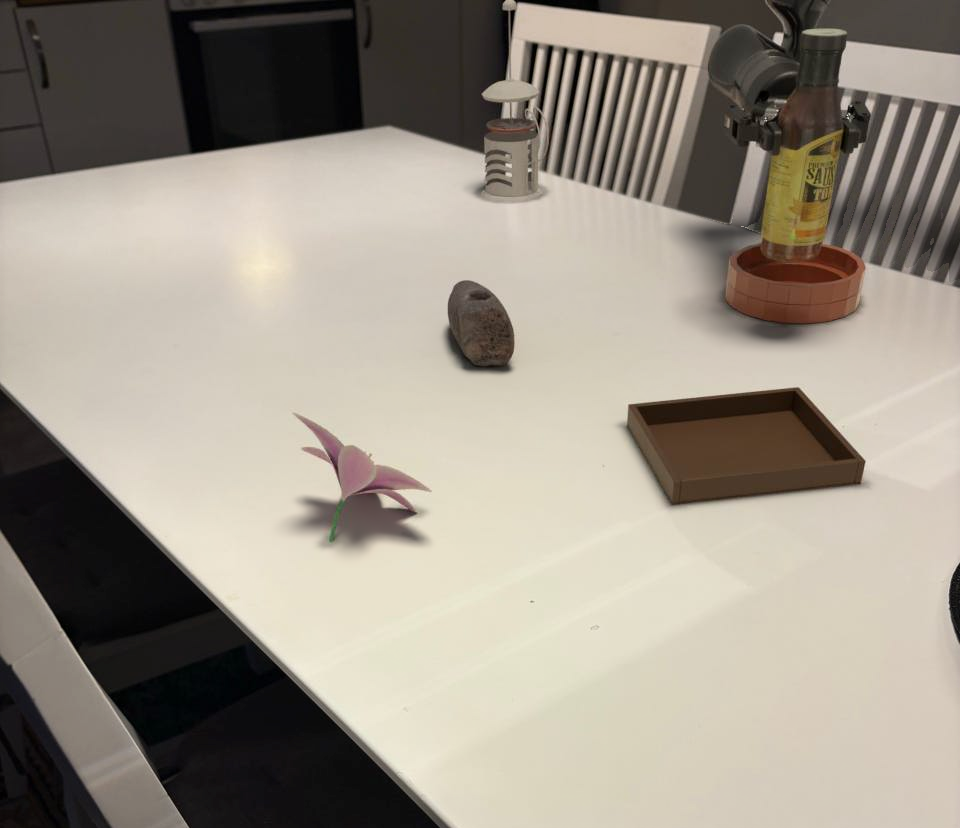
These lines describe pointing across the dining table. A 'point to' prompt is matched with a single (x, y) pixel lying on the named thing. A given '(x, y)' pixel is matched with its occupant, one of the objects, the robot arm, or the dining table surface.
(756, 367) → the dining table surface
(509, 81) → the french press
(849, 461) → the tray
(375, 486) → the lily
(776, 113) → the robot arm
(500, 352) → the perforated stone tool
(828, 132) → the sauce bottle
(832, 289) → the bowl
